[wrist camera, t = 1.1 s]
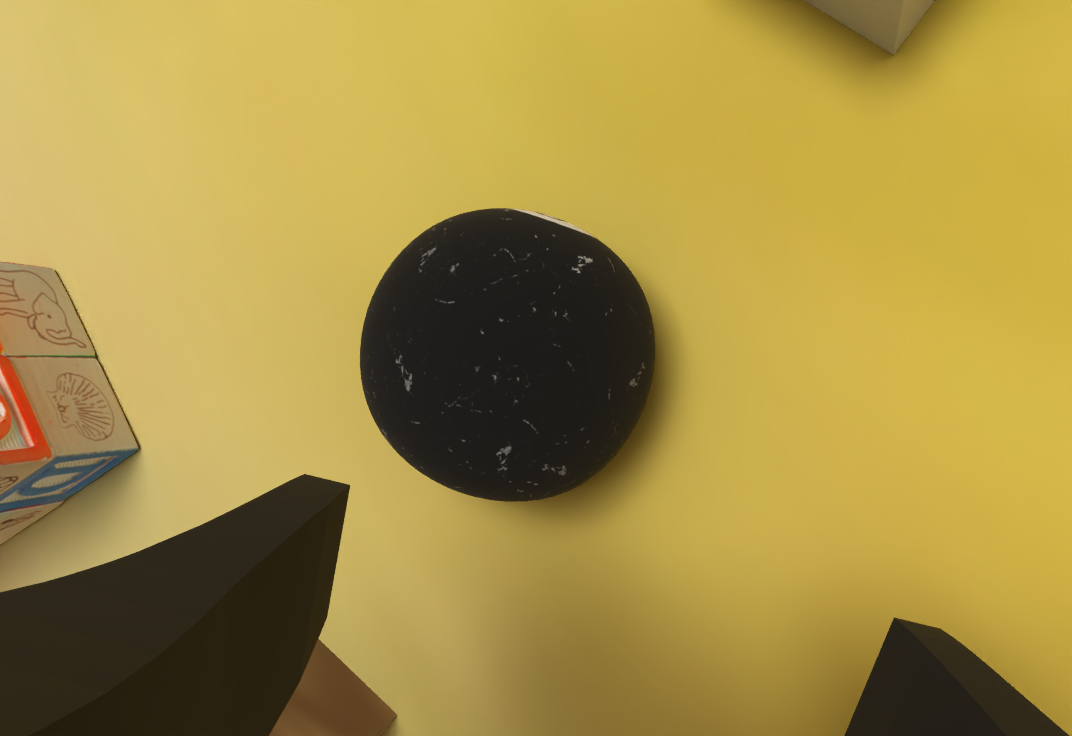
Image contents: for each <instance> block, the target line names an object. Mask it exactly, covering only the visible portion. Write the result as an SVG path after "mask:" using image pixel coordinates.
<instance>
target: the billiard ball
mask: <svg viewBox="0 0 1072 736" xmlns="http://www.w3.org/2000/svg"><path fill="white" fill-rule="evenodd" d="M654 359H655V339H654V328H653V322H652V317H651V313H650V309H649V306H648V303H647V300H646V298H645V295H644V293H643V291H642V289H641V287H640V285H639V283H638V282H637V280H636V278H635V277H634V275H633V274H632V272H631V271H630V270H629V268H628V267H627V266H626V265H625V263H624V262H623V261H622V260H621V259H620V258H619V257H618V256H617V255H616V254H615V253H614V252H613V251H612V250H611V249H610V248H608V247H607V246H606V245H605V244H603V243H602V242H601V241H599V240H598V239H596V238H595V237H594V236H592V235H590V234H589V233H587V232H586V231H584V230H582V229H580V228H578V227H576V226H574V225H572V224H570V223H568V222H565V221H563V220H560V219H557V218H555V217H552V216H548V215H545V214H541V213H538V212H532V211H527V210H519V209H506V208H497V209H484V210H476V211H472V212H467V213H463V214H459V215H456V216H454V217H451V218H448V219H446V220H444V221H442V222H440V223H438V224H436V225H434V226H432V227H431V228H429V229H427V230H426V231H424V232H423V233H422V234H420V235H419V236H418V237H417V238H415V239H414V240H413V241H412V242H411V243H410V244H409V245H408V246H407V247H406V248H405V249H404V250H403V251H402V252H401V253H400V254H399V255H398V256H397V257H396V259H395V260H394V261H393V262H392V264H391V265H390V267H389V268H388V269H387V271H386V272H385V274H384V276H383V277H382V279H381V281H380V282H379V284H378V286H377V288H376V290H375V292H374V294H373V296H372V299H371V302H370V304H369V307H368V310H367V313H366V317H365V321H364V325H363V331H362V337H361V348H360V369H361V379H362V385H363V390H364V394H365V398H366V402H367V404H368V407H369V410H370V412H371V414H372V416H373V419H374V421H375V423H376V424H377V426H378V428H379V429H380V431H381V433H382V434H383V436H384V437H385V438H386V440H387V441H388V442H389V444H390V445H391V446H392V447H393V448H394V449H395V450H396V452H397V453H398V454H399V455H400V456H401V457H402V458H404V459H405V460H406V461H407V462H408V463H409V464H410V465H411V466H413V467H414V468H415V469H417V470H418V471H419V472H421V473H422V474H424V475H425V476H427V477H429V478H430V479H432V480H434V481H436V482H438V483H440V484H442V485H444V486H446V487H448V488H450V489H453V490H455V491H458V492H461V493H464V494H467V495H471V496H474V497H479V498H484V499H489V500H497V501H531V500H539V499H544V498H548V497H552V496H556V495H558V494H561V493H564V492H567V491H569V490H571V489H573V488H575V487H577V486H579V485H581V484H582V483H584V482H585V481H587V480H588V479H589V478H591V477H592V476H594V475H595V474H596V473H597V472H599V471H600V470H601V469H602V468H603V467H604V466H606V464H607V463H608V462H609V461H610V460H611V459H612V458H613V457H614V456H615V455H616V453H617V452H618V451H619V450H620V448H621V447H622V446H623V444H624V443H625V441H626V440H627V438H628V437H629V435H630V434H631V432H632V430H633V429H634V427H635V425H636V423H637V421H638V419H639V417H640V415H641V412H642V410H643V407H644V405H645V402H646V399H647V396H648V393H649V389H650V385H651V380H652V376H653V368H654Z"/></svg>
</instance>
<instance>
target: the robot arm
mask: <svg viewBox="0 0 1072 736" xmlns="http://www.w3.org/2000/svg"><path fill="white" fill-rule="evenodd" d="M349 489H350V485H347V484H343V483H339V482H335V481H331V480H327V479H323V478H319V477H315V476H311V475H306V474H304V475H301V476H299V477H297V478H295V479H293V480H290V481H288V482H286V483H284V484H283V485H281V486H279V487H277V488H275V489H273V490H271V491H269V492H267V493H265V494H263V495H261V496H259V497H257V498H255V499H253V500H251V501H249V502H247V503H245V504H243V505H241V506H239V507H237V508H235V509H233V510H231V511H229V512H227V513H225V514H223V515H221V516H219V517H217V518H215V519H213V520H211V521H209V522H207V523H204V524H202V525H200V526H198V527H195V528H193V529H191V530H188V531H186V532H184V533H181V534H179V535H176V536H174V537H172V538H169V539H167V540H165V541H162V542H160V543H158V544H155V545H153V546H150V547H148V548H146V549H143V550H141V551H139V552H136V553H133V554H131V555H128V556H125V557H123V558H120V559H117V560H114V561H111V562H108V563H105V564H102V565H99V566H96V567H93V568H90V569H87V570H83V571H80V572H77V573H74V574H71V575H67V576H64V577H61V578H57V579H54V580H50V581H47V582H43V583H39V584H34V585H30V586H26V587H22V588H17V589H13V590H9V591H4V592H0V736H269V735H270V733H271V731H272V729H273V728H274V726H275V724H276V723H277V721H278V719H279V717H280V716H281V714H282V712H283V710H284V709H285V707H286V705H287V704H288V702H289V700H290V698H291V697H292V695H293V693H294V691H295V689H296V688H297V686H298V684H299V682H300V680H301V678H302V676H303V673H304V671H305V669H306V666H307V664H308V662H309V659H310V657H311V655H312V652H313V650H314V647H315V645H316V643H317V640H318V638H319V635H320V633H321V631H322V628H323V626H324V623H325V621H326V618H327V614H328V608H329V603H330V597H331V591H332V586H333V580H334V574H335V569H336V563H337V557H338V551H339V546H340V540H341V534H342V529H343V523H344V517H345V512H346V506H347V500H348V494H349ZM845 736H1069V735H1068V734H1067V733H1066V732H1064V731H1063V730H1062V729H1061V728H1060V727H1059V726H1057V725H1056V724H1055V723H1054V722H1053V721H1052V720H1050V719H1049V718H1048V717H1047V716H1046V715H1045V714H1044V713H1042V712H1041V711H1040V710H1039V709H1038V708H1037V707H1035V706H1034V705H1033V704H1032V703H1031V702H1030V701H1029V700H1027V699H1026V698H1025V697H1024V696H1023V695H1022V694H1021V693H1019V692H1018V691H1017V690H1016V689H1015V688H1014V687H1012V686H1011V685H1010V684H1009V683H1008V682H1007V681H1006V680H1004V679H1003V678H1002V677H1001V676H1000V675H999V674H997V673H996V672H995V671H994V670H993V669H992V668H990V667H989V666H988V665H987V664H986V663H985V662H983V661H982V660H981V659H980V658H979V657H977V656H976V655H975V654H974V653H973V652H971V651H970V650H969V649H968V648H966V647H965V646H964V645H962V644H961V643H960V642H959V641H957V640H956V639H955V638H953V637H952V636H950V635H949V634H947V633H946V632H944V631H943V630H941V629H939V628H935V627H931V626H927V625H922V624H918V623H914V622H910V621H906V620H902V619H898V618H894V619H893V622H892V624H891V626H890V629H889V631H888V633H887V636H886V638H885V641H884V643H883V645H882V648H881V650H880V653H879V655H878V657H877V660H876V662H875V664H874V667H873V669H872V672H871V674H870V676H869V679H868V681H867V683H866V686H865V688H864V691H863V693H862V695H861V698H860V700H859V703H858V705H857V707H856V710H855V712H854V714H853V717H852V719H851V722H850V724H849V726H848V729H847V731H846V734H845Z"/></svg>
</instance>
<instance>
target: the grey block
mask: <svg viewBox="0 0 1072 736" xmlns="http://www.w3.org/2000/svg"><path fill="white" fill-rule="evenodd" d="M804 1H806V2H807V3H809V4H811V5H812V6H814V7H816V8H817V9H819V10H820V11H822V12H824V13H825V14H827V15H829V16H830V17H832V18H833V19H835V20H837V21H838V22H840V23H842V24H843V25H845V26H846V27H848V28H850V29H851V30H853V31H855V32H856V33H858V34H859V35H861V36H863V37H864V38H866V39H868V40H869V41H871V42H872V43H874V44H876V45H877V46H879V47H881V48H882V49H884V50H885V51H887V52H889V53H890V54H892V55H894V54H895V53H896V51H897V50H898V49H899V47H900V46H901V45H902V43H903V42H904V41H905V39H906V38H907V37H908V35H909V34H910V33H911V31H912V30H913V29H914V27H915V26H916V25H917V23H918V22H919V21H920V19H921V18H922V17H923V15H924V14H925V13H926V11H927V10H928V9H929V7H930V6H931V5H932V3H933V2H934V1H935V0H804Z"/></svg>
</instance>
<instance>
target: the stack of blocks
mask: <svg viewBox="0 0 1072 736" xmlns="http://www.w3.org/2000/svg"><path fill="white" fill-rule="evenodd" d="M138 449H139V448H138V445H137V443H136V441H135V438H134V436H133V434H132V432H131V430H130V427H129V425H128V423H127V421H126V419H125V417H124V414H123V412H122V410H121V408H120V406H119V404H118V401H117V399H116V397H115V395H114V393H113V391H112V389H111V387H110V385H109V383H108V381H107V379H106V377H105V375H104V372H103V370H102V368H101V366H100V364H99V363H98V361H97V360H96V358H95V351H94V349H93V346H92V344H91V342H90V340H89V338H88V336H87V334H86V332H85V330H84V328H83V326H82V324H81V322H80V320H79V318H78V316H77V314H76V311H75V309H74V307H73V305H72V303H71V300H70V298H69V296H68V294H67V292H66V290H65V289H64V287H63V285H62V283H61V281H60V279H59V277H58V276H57V274H56V273H55V271H54V270H53V269H51V268H45V267H38V266H31V265H23V264H15V263H8V262H0V545H1V544H2V543H4V542H5V541H7V540H8V539H10V538H11V537H13V536H14V535H16V534H17V533H19V532H20V531H22V530H23V529H25V528H26V527H28V526H29V525H31V524H32V523H34V522H35V521H37V520H38V519H40V518H41V517H43V516H44V515H46V514H47V513H49V512H50V511H52V510H53V509H55V508H56V507H57V506H59V505H60V504H61V503H62V502H64V500H65V499H66V498H67V497H69V496H71V495H73V494H75V493H76V492H78V491H80V490H81V489H83V488H84V487H86V486H87V485H88V484H90V483H92V482H93V481H95V480H96V479H98V478H99V477H100V476H102V475H103V474H104V473H106V472H107V471H109V470H110V469H112V468H113V467H115V466H116V465H118V464H119V463H120V462H122V461H123V460H125V459H126V458H128V457H130V456H131V455H132V454H134V453H135V452H136V451H137V450H138Z"/></svg>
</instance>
